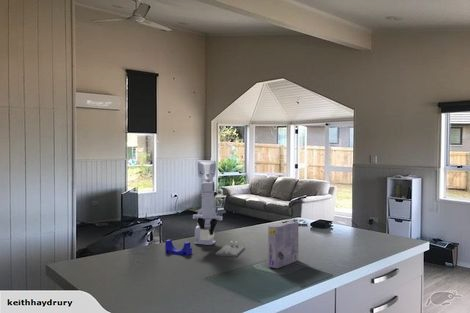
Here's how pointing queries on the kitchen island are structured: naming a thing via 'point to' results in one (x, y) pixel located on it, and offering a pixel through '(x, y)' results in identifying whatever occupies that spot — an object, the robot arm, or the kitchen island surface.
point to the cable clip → (171, 249)
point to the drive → (206, 233)
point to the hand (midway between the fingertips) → (207, 234)
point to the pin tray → (230, 250)
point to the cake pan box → (282, 244)
